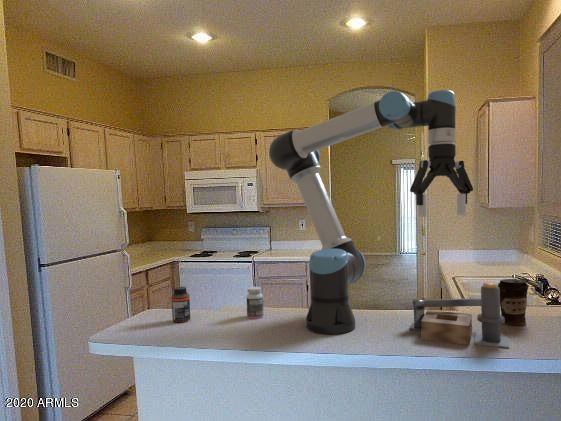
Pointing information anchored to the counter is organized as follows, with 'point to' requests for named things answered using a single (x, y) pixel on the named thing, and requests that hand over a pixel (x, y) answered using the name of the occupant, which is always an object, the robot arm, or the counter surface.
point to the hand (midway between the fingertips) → (442, 216)
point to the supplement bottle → (180, 305)
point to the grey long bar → (445, 302)
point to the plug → (490, 313)
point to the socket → (447, 327)
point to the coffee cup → (513, 300)
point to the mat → (479, 341)
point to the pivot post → (417, 319)
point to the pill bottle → (255, 303)
